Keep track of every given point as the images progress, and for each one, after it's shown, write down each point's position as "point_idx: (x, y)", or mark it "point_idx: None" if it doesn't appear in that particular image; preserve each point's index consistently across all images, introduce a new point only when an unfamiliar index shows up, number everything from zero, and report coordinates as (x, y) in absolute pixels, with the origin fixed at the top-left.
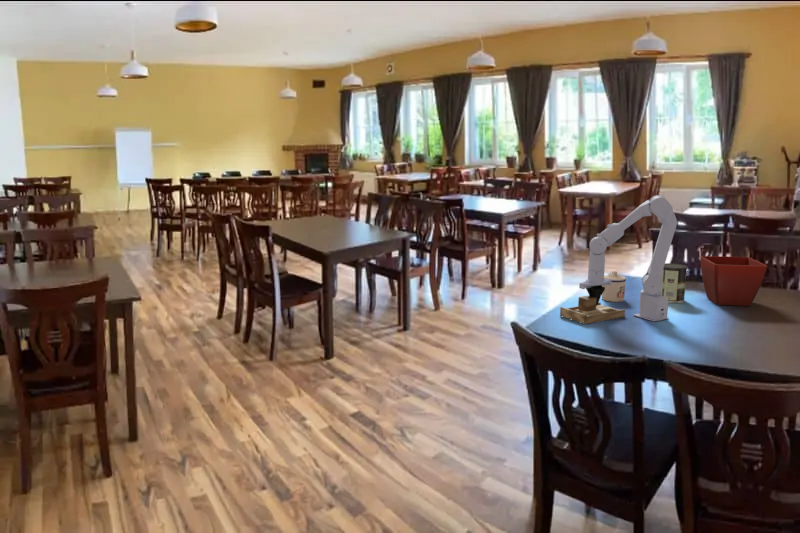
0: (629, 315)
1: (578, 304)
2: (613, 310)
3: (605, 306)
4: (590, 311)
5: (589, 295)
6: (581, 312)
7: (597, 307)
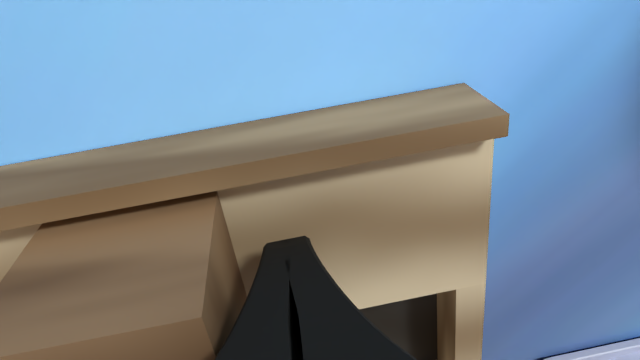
0: (526, 337)
1: (13, 270)
2: (449, 315)
3: (468, 223)
4: None
5: (222, 353)
6: None
7: (347, 232)
